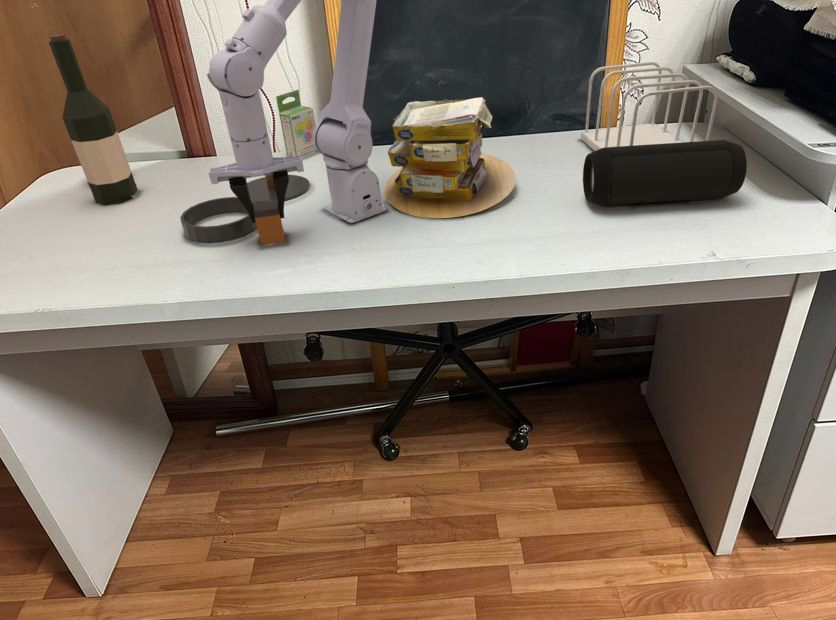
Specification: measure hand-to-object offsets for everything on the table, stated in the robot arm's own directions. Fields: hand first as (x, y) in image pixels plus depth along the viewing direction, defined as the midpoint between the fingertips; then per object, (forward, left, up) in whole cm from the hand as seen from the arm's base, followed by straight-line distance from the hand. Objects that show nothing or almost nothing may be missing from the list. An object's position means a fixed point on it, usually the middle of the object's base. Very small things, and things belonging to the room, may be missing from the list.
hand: (267, 218), depth 104 cm
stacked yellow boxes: (-6, -35, -4) cm, 36 cm away
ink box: (+36, -27, -4) cm, 45 cm away
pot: (+11, +4, -4) cm, 12 cm away
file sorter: (-20, -76, -4) cm, 79 cm away
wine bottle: (+43, +13, -4) cm, 45 cm away
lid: (+20, -11, -4) cm, 23 cm away
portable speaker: (-37, -57, -4) cm, 68 cm away
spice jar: (0, 0, -4) cm, 4 cm away
